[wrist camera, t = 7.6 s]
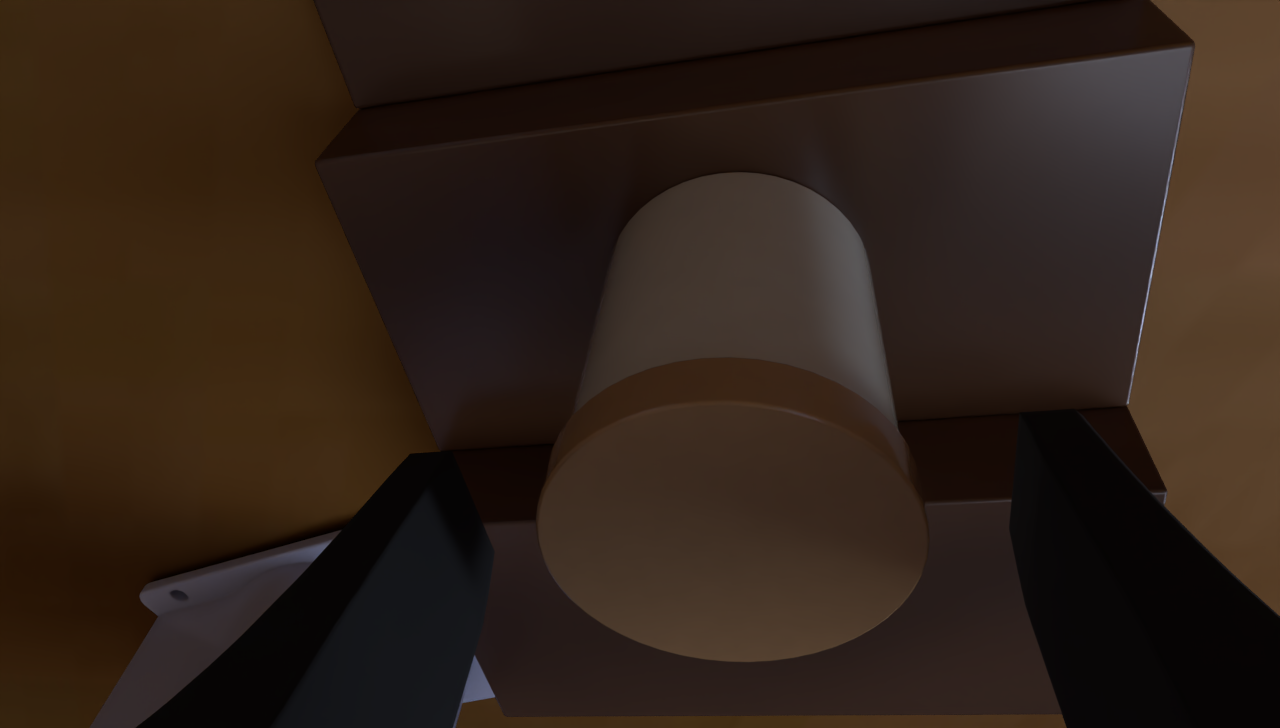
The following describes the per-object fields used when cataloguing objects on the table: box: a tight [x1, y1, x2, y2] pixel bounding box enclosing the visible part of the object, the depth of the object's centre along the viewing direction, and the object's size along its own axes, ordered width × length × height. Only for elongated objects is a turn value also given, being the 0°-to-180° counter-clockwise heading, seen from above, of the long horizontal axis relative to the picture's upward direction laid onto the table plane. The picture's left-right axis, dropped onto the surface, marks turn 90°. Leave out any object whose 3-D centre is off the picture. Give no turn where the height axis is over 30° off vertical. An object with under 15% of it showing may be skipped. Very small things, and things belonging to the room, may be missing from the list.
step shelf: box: [313, 0, 1195, 717], centre depth 16 cm, size 20×13×5 cm, turn 11°
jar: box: [535, 172, 930, 662], centre depth 13 cm, size 5×5×6 cm
